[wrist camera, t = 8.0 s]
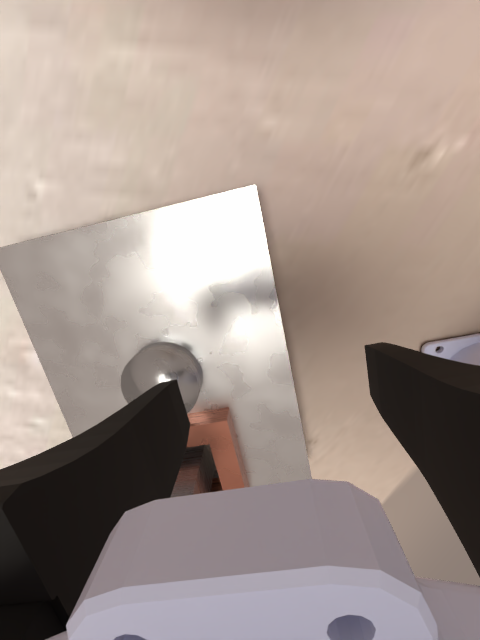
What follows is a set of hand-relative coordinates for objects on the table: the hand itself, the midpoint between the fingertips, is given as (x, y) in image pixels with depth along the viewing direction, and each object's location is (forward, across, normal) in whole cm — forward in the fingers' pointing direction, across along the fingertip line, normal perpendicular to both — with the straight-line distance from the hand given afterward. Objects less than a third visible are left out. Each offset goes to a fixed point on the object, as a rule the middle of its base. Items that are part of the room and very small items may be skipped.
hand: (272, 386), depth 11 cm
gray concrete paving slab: (+10, +7, +4) cm, 13 cm away
